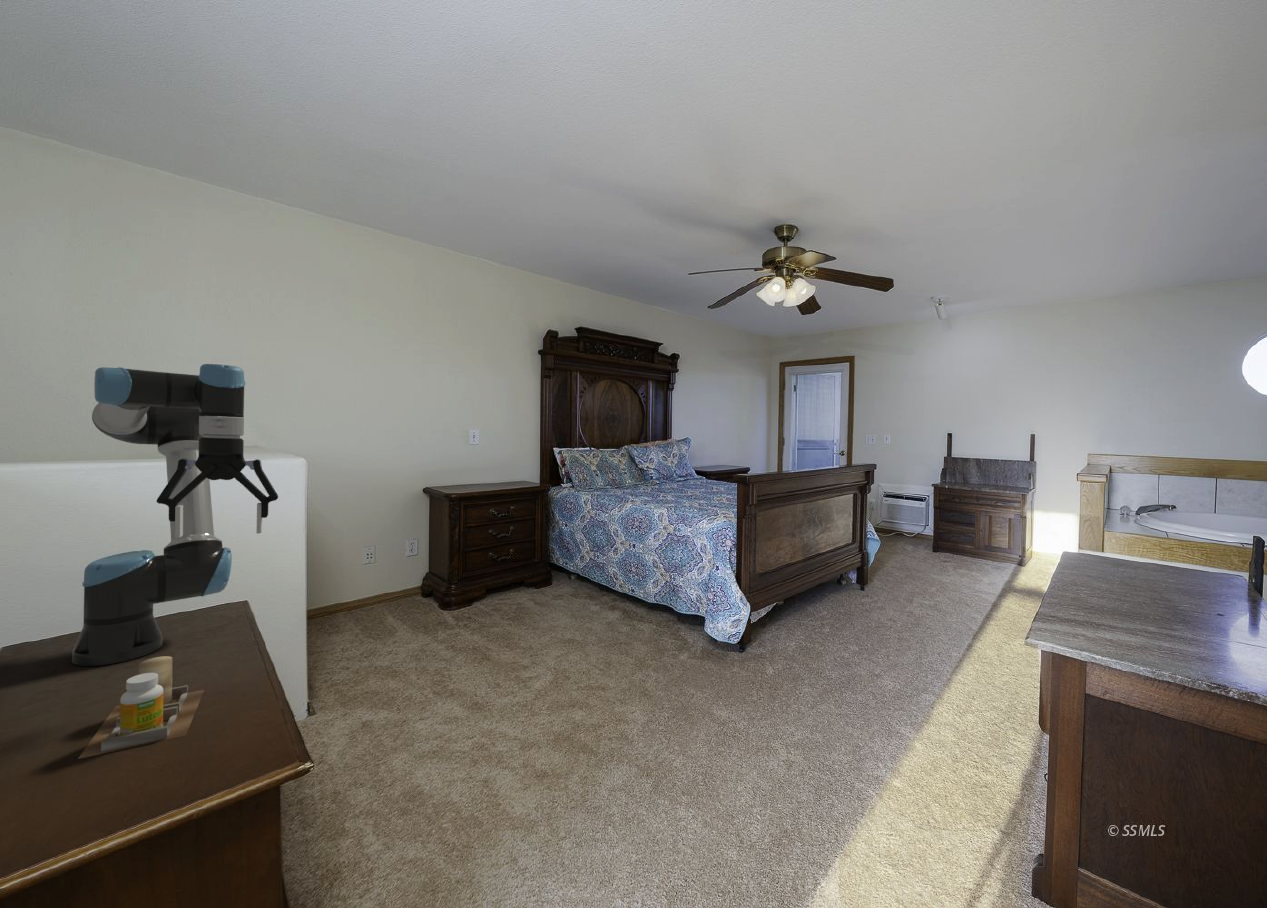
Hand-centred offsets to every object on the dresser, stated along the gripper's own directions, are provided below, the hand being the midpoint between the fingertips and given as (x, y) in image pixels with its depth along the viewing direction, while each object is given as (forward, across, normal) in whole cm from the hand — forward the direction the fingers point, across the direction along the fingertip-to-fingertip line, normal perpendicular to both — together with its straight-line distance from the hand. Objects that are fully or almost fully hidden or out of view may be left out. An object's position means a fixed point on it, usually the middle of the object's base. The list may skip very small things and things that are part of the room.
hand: (220, 534), depth 109 cm
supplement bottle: (+30, -7, -22) cm, 38 cm away
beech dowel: (+30, -8, -13) cm, 34 cm away
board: (+31, -7, -18) cm, 37 cm away
